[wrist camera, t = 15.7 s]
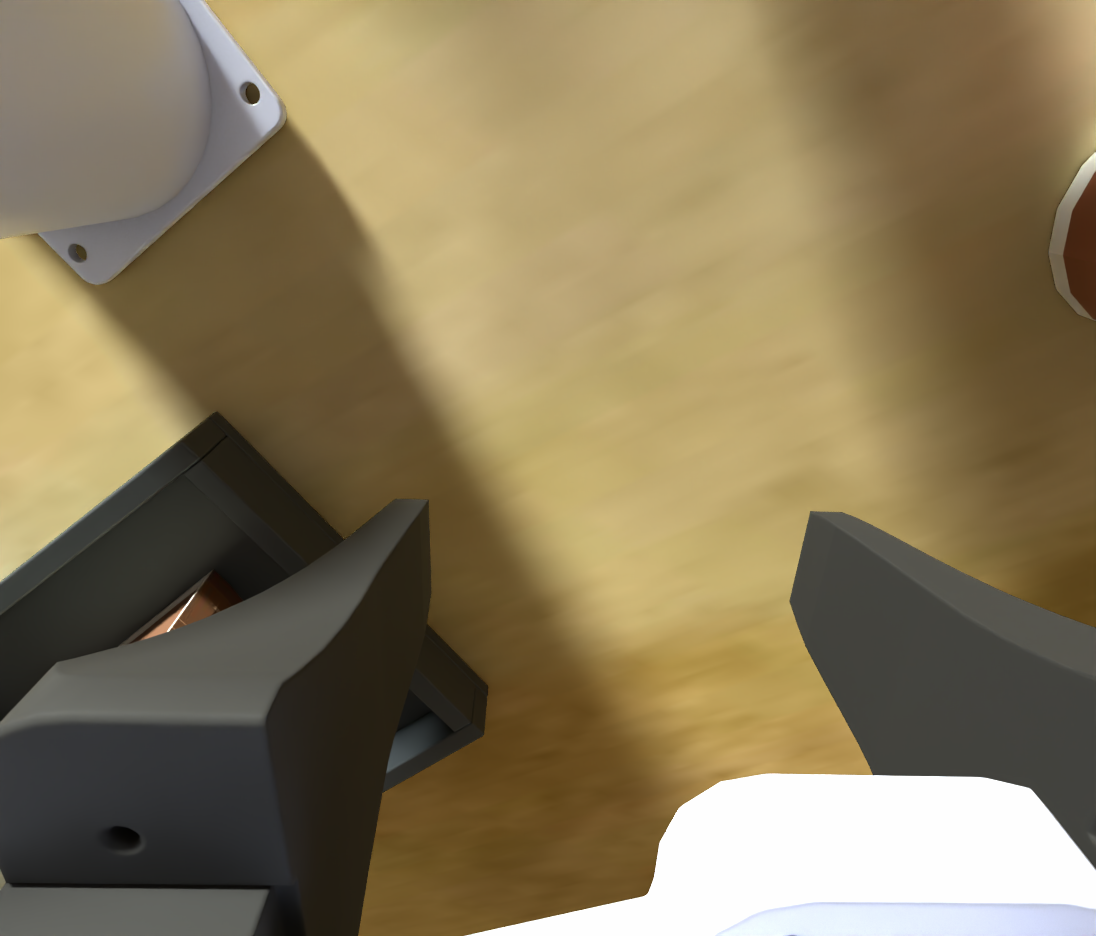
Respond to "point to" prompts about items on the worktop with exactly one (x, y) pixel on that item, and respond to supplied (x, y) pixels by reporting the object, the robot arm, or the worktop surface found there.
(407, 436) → the worktop surface
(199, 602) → the food container
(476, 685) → the tray
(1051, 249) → the coffee cup
